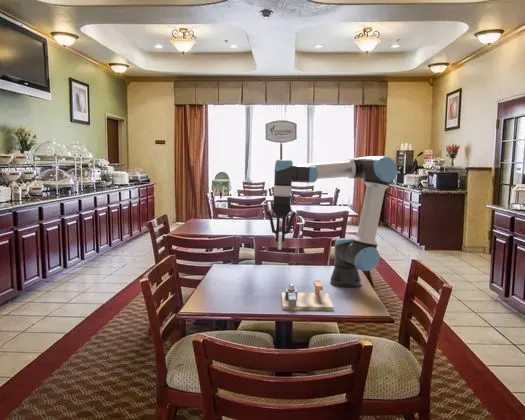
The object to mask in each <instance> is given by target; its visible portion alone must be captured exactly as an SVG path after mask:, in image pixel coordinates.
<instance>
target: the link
mask: <svg viewBox="0 0 525 420" xmlns="http://www.w3.org/2000/svg"><path fill="white" fill-rule="evenodd" d="M284 291H285V297H286V298H288V302H289V306H296V298H297V292H298V289H297V288H294V291H289V287H288V288H287V287H286V288H285V289H284Z"/></svg>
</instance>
